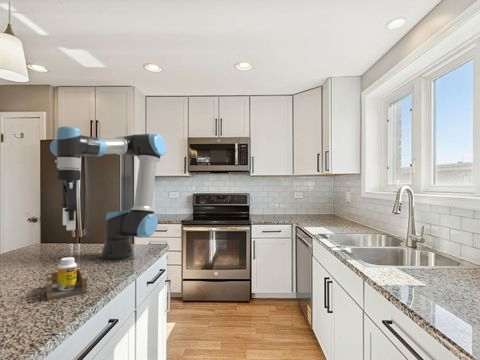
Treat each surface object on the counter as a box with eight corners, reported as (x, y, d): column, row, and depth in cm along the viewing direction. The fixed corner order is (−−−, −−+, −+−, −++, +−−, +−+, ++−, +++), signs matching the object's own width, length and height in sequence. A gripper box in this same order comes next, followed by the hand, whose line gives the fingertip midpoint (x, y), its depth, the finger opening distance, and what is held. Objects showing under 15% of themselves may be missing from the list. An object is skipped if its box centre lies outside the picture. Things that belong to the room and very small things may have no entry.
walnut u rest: (86, 293, 94) (87, 278, 94) (47, 300, 87) (47, 285, 88) (81, 281, 105) (82, 268, 105) (46, 287, 99) (47, 273, 99)
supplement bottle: (65, 292, 91) (66, 261, 92) (52, 290, 93) (53, 259, 93) (80, 287, 97) (80, 257, 97) (67, 285, 98) (68, 255, 99)
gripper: (54, 170, 110) (54, 223, 110) (59, 168, 90) (59, 233, 90) (76, 170, 115) (76, 222, 115) (85, 168, 95) (85, 231, 95)
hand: (68, 227), depth 103 cm, fingers open, 13 cm apart
